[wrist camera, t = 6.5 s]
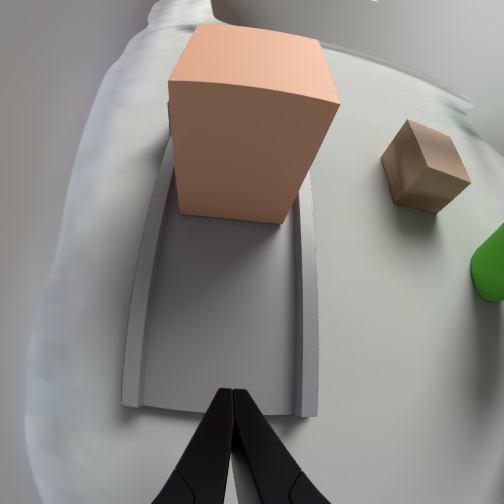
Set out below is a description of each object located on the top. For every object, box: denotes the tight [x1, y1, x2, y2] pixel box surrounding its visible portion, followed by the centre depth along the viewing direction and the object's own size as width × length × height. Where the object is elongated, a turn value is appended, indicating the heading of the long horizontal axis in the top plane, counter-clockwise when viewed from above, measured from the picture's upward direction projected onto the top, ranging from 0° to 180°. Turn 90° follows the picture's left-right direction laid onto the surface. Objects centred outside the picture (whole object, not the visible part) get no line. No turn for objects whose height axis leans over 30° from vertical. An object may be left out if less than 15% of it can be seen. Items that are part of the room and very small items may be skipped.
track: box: [121, 101, 319, 418], centre depth 16 cm, size 20×10×4 cm, turn 178°
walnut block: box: [381, 119, 471, 214], centre depth 20 cm, size 5×5×5 cm
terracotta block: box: [168, 24, 340, 224], centre depth 14 cm, size 6×6×9 cm
